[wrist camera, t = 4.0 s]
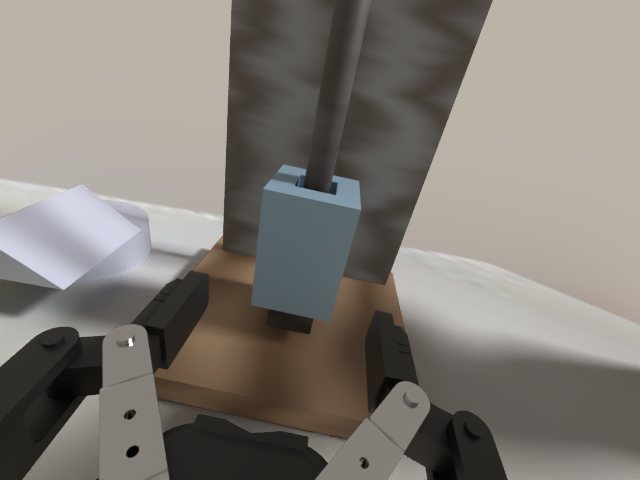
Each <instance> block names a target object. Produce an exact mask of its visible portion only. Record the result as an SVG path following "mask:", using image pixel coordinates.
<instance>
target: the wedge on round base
mask: <svg viewBox="0 0 640 480" xmlns="http://www.w3.org/2000/svg"><path fill="white" fill-rule="evenodd" d="M150 253H151V239H150V229H149V219H148V215H147V213H146V212H145V211H144V210H142V209H141V208H139V207H137V206H135V205H132V204H129V203H125V202H119V201H112V200H102V199H100V198H99V197H98V196H96V195H95V194H94V193H93V192H91V191H90V190H89V189H87V188H86V187H85V186H83V185H79V186H77V187H74V188H72V189H70V190H67V191H65V192H62V193H60V194H57V195H55V196H53V197H50V198H48V199H45V200H43V201H40V202H38V203H36V204H33V205H31V206H28V207H26V208H23V209H21V210H18V211H16V212H14V213H11V214H9V215H6V216H4V217H1V218H0V279H4V280H9V281H15V282H21V283H26V284H32V285H38V286H44V287H49V288H55V289H61V290H64V289H66V288H67V287H68V286H70V285H71V284H72V283H73V282H89V281H97V280H102V279H107V278H111V277H114V276H117V275H120V274H123V273H125V272H128V271H130V270H132V269H134V268H136V267H137V266H139V265H140V264H142V263H143V262H144V261H145V260H146V259H147V258H148V256H149V255H150Z"/></svg>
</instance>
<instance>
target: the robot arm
mask: <svg viewBox="0 0 640 480" xmlns="http://www.w3.org/2000/svg"><path fill="white" fill-rule="evenodd" d="M208 301H209V275H208V274H207V273H202V272H198V271H193V270H192V271H190V272H189V273H188V274H187V276H186V277H185V278H184V279H183V280H182V279H176V280H174V281H172V282H170V283H168V284H167V285H166V286H165V287H164V288H163V289H162V290H161V291H160V293H159V294H158V295H157V296H156V297H155V298H154V300H152V301H151V302H150V303H149V304H148V305H147V307H146V308H145V309H144V310H143V311H142V312H141V313H140V314H139V315H138V316H137V317H136V319H135V320H134V321H133V322H132V323H131V324H129V325H123V326H120V327H118V328H116V329H114V330H112V331H111V332H109V333H108V334H107V335H106V336H93V337H79V333H78V331H77V330H76V329H74V328H71V327H57V328H52V329H49V330H47V331H44V332H42V333H40V334H39V335H37V336H36V337H34V338H33V339H32V340H31V341H30V342H28V343H27V344H26V345H25V346H24V347H23V348H22V349H20V350H19V351H18V352H17V353H16V354H15V355H14V356H12V357H11V358H10V359H9V360H8V361H7V362H6V363H4V364H3V365H2V366H1V367H0V480H22V479H23V478H24V477H25V475H26V474H27V473H28V471H29V470H30V469H31V467H32V466H33V465H34V464H35V462H36V461H37V460H38V458H39V457H40V456H41V454H42V453H43V452H44V451H45V449H46V448H47V447H48V445H49V444H50V443H51V442H52V440H53V439H54V438H55V436H56V435H57V434H58V432H59V431H60V430H61V429H62V427H63V426H64V425H65V423H66V422H67V421H68V419H69V418H70V417H71V416H72V414H73V413H74V412H75V410H76V409H77V408H78V406H79V405H80V404H81V403H82V401H83V400H84V399H85V397H86V396H88V395H97V394H100V395H99V478H98V479H96V480H388V478H389V477H390V475H391V473H392V472H393V470H394V468H395V467H396V465H397V464H398V462H399V460H400V459H401V457H402V455H403V454H404V455H406V456H407V457H409V458H411V459H413V460H414V461H416V462H418V463H419V464H421V465H423V466H425V467H426V473H427V480H508V479H507V476H506V474H505V471H504V468H503V465H502V462H501V459H500V456H499V453H498V451H497V448H496V445H495V442H494V439H493V436H492V434H491V432H490V430H489V428H488V427H487V425H486V424H485V423H484V422H483V421H482V420H481V419H480V418H479V417H478V416H476V415H474V414H473V413H471V412H468V411H458V412H456V413H455V414H454V416H453V415H451V414H450V413H448V412H446V411H444V410H442V409H440V408H438V407H436V406H435V405H433V404H432V403H431V402H430V401H429V398H428V396H427V395H426V393H425V392H424V391H423V390H422V389H421V388H420V387H419V385H418V381H417V376H416V372H415V367H414V363H413V358H412V355H411V349H410V347H409V346H410V345H409V340H408V336H407V334H406V333H405V331H404V330H403V328H402V327H401V326H397V325H394V320H393V315H392V313H389V312H384V311H379V310H375V312H374V315H373V317H372V320H371V323H370V325H369V328H368V331H367V334H366V338H365V359H366V378H367V397H368V413H372V415H371V416H370V417H367V418H366V419H365V420H364V421H363V422H362V423H361V424H360V426H359V427H358V428H357V429H356V430H355V432H354V433H353V434H352V435H351V437H350V438H349V439H348V440H347V441H346V443H345V444H344V445H343V446H342V447H341V449H340V450H339V451H338V452H337V454H336V455H335V456H334V457H333V458H332V460H331V461H330V462H329V463H327V462H326V461H325V459H324V458H323V457H322V456H321V455H320V454H318V453H317V452H316V451H315V450H313V449H312V448H310V447H308V446H307V444H308V437H307V436H302V435H297V434H293V433H288V432H283V431H277V432H264V433H250V432H248V431H246V430H244V429H242V428H240V427H238V426H236V425H235V424H233V423H231V422H229V421H227V420H225V419H220V418H215V417H211V416H206V415H201V414H198V416H197V418H196V420H195V422H194V423H190V424H185V425H181V426H178V427H175V428H172V429H170V430H168V431H166V432H164V433H162V428H161V421H160V415H159V408H158V402H157V395H156V388H155V382H154V374H155V372H156V371H157V369H158V368H161V369H165V370H168V369H169V367H170V366H171V364H172V362H173V361H174V359H175V358H176V356H177V355H178V353H179V351H180V350H181V348H182V347H183V345H184V344H185V342H186V340H187V339H188V337H189V336H190V334H191V333H192V331H193V329H194V328H195V326H196V325H197V323H198V322H199V320H200V319H201V317H202V315H203V314H204V312H205V310H206V308H207V305H208Z"/></svg>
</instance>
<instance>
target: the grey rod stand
mask: <svg viewBox="0 0 640 480" xmlns="http://www.w3.org/2000/svg"><path fill="white" fill-rule="evenodd" d="M492 1H493V0H232V10H231V37H230V63H229V90H228V118H227V145H226V172H225V199H224V224H223V236H222V237H221V238H220V239H219V241H218V242H217V243H216V244H215V245H214V247H213V248H212V249H211V250H210V251H209V252H208V254H207V255H206V256H205V257H204V258H203V259H202V261H201V262H200V263H199V264H198V265H197V266H196V268H195V269H194V270H193V271H198V272H202V273H207V274H208V275H209V301H208V305H207V308H206V310H205V312H204V314H203V315H202V317H201V319H200V320H199V322H198V323H197V325H196V326H195V328H194V329H193V331H192V333H191V334H190V336H189V337H188V339H187V340H186V342H185V344H184V345H183V347H182V348H181V350H180V351H179V353H178V355H177V356H176V358H175V359H174V361H173V362H172V364H171V366H170V367H169V369H168V370H165V369H161V368H158V369H157V371H156V372H155V374H154V382H155V388H156V395H157V398H158V399H163V400H167V401H172V402H177V403H181V404H186V405H191V406H196V407H200V408H205V409H210V410H214V411H219V412H224V413H228V414H233V415H238V416H243V417H247V418H252V419H257V420H261V421H266V422H271V423H276V424H280V425H285V426H290V427H294V428H299V429H304V430H309V431H313V432H318V433H323V434H327V435H332V436H337V437H342V438H346V439H349V438H350V437H351V435H352V434H353V433H354V432H355V430H356V429H357V428H358V427H359V426H360V424H361V423H362V422H363V421H364V420H365V419H366V418H367V417H370V416H371V415H372V413H368V397H367V378H366V359H365V338H366V334H367V331H368V328H369V325H370V323H371V320H372V317H373V315H374V312H375V310H379V311H384V312H389V313H392V315H393V320H394V325H397V326H401V327H402V328H403V330H404V325H403V320H402V316H401V311H400V306H399V302H398V297H397V292H396V288H395V283H394V278H393V274H392V273H391V272H390V271H391V269H392V266H393V264H394V261H395V258H396V256H397V253H398V250H399V248H400V245H401V242H402V240H403V237H404V234H405V232H406V229H407V226H408V223H409V221H410V218H411V215H412V213H413V210H414V207H415V205H416V202H417V200H418V197H419V194H420V192H421V189H422V187H423V184H424V181H425V179H426V176H427V173H428V171H429V168H430V165H431V163H432V160H433V157H434V155H435V152H436V149H437V147H438V144H439V141H440V139H441V136H442V133H443V130H444V128H445V125H446V123H447V120H448V118H449V115H450V112H451V109H452V107H453V104H454V101H455V99H456V96H457V94H458V91H459V88H460V85H461V83H462V80H463V78H464V75H465V72H466V69H467V67H468V64H469V62H470V59H471V56H472V54H473V51H474V48H475V46H476V43H477V40H478V38H479V35H480V32H481V30H482V27H483V25H484V22H485V19H486V17H487V14H488V11H489V9H490V6H491V3H492ZM283 165H288V166H293V167H297V168H302V169H306V174H305V180H304V186H303V188H305V189H309V190H314V191H319V192H323V193H328V194H329V192H330V187H331V183H332V178H333V175H334V176H339V177H343V178H348V179H352V180H357V181H359V187H360V200H361V213H360V216H359V220H358V223H357V227H356V230H355V234H354V237H353V241H352V244H351V248H350V252H349V255H348V259H347V262H346V266H345V269H344V273H343V276H342V280H341V283H340V287H339V290H338V294H337V297H336V301H335V305H334V308H333V312H332V315H331V319H330V322H327V321H323V320H318V319H313V318H309V317H304V316H299V315H295V314H290V313H285V312H281V311H276V310H271V309H267V308H262V307H257V306H253V305H251V301H252V291H253V281H254V272H255V262H256V252H257V243H258V233H259V223H260V213H261V204H262V194H263V188H264V187H265V186H266V185H267V183H268V182H269V181H270V180H271V179H272V178H273V176H274V175H275V174H276V173H277V172H278V170H279V169H280V168H281V167H282V166H283ZM404 331H405V330H404Z"/></svg>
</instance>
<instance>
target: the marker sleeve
mask: <svg viewBox="0 0 640 480" xmlns="http://www.w3.org/2000/svg"><path fill="white" fill-rule="evenodd" d="M305 174H306V169H302V168H297V167H293V166H288V165H283V166H282V167H281V168H280V169H279V170H278V172H277V173H276V174H275V175H274V176H273V178H272V179H271V180H270V181H269V182H268V183H267V185H266V186H265V187H264V188H263V194H262V204H261V213H260V223H259V233H258V243H257V252H256V262H255V272H254V281H253V291H252V301H251V305H253V306H257V307H262V308H267V309H271V310H276V311H281V312H285V313H290V314H295V315H299V316H304V317H309V318H313V319H318V320H323V321H327V322H330V319H331V315H332V312H333V308H334V305H335V301H336V297H337V294H338V290H339V287H340V283H341V280H342V276H343V273H344V269H345V266H346V262H347V259H348V255H349V252H350V248H351V244H352V241H353V237H354V234H355V230H356V227H357V223H358V220H359V216H360V213H361V200H360V187H359V181H357V180H352V179H348V178H343V177H339V176H334V175H333V178H332V183H331V187H330V192H329V194H328V193H323V192H319V191H314V190H309V189H305V188H303V186H304V180H305Z"/></svg>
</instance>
